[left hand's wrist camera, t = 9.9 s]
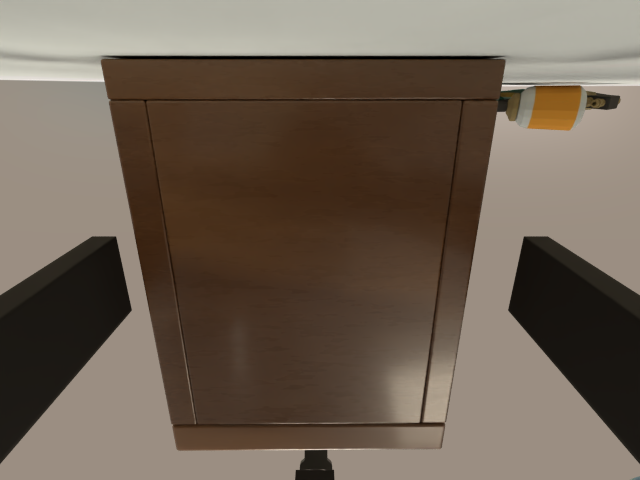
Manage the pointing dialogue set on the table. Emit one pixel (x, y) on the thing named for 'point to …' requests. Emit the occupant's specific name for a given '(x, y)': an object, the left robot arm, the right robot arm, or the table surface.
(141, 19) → the table surface
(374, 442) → the lid
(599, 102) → the spray gun
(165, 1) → the table surface
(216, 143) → the chest
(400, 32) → the table surface
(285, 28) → the table surface
